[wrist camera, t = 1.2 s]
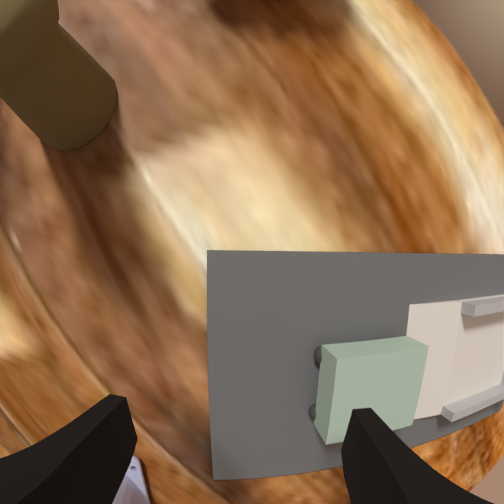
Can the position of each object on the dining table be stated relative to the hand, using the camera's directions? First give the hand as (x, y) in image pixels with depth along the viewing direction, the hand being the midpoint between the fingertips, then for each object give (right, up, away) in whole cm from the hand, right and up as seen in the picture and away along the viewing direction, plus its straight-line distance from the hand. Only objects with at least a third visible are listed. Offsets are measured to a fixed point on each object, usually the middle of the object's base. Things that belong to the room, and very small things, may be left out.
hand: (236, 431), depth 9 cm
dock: (+12, -2, +11) cm, 16 cm away
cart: (+7, -2, +10) cm, 12 cm away
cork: (-11, +15, +8) cm, 20 cm away
